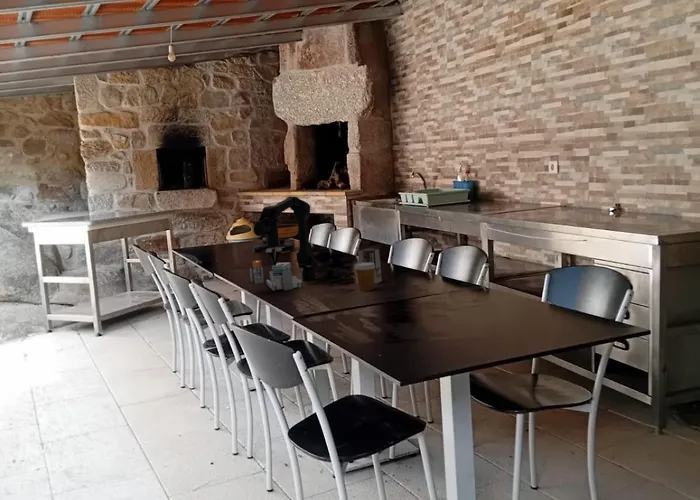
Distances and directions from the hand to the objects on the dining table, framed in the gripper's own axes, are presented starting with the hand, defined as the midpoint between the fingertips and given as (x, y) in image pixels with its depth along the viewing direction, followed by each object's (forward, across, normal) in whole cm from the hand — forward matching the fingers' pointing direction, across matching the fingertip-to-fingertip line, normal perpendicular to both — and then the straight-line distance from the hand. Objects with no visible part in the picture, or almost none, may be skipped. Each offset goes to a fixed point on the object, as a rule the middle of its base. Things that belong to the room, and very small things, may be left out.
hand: (274, 265), depth 312 cm
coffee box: (+12, -45, +6) cm, 47 cm away
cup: (+12, -21, -131) cm, 133 cm away
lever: (+6, +6, -28) cm, 30 cm away
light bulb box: (+12, -5, -12) cm, 18 cm away
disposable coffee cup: (+12, -39, +21) cm, 46 cm away
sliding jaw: (+12, -5, 0) cm, 13 cm away
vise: (+12, -1, -18) cm, 21 cm away
